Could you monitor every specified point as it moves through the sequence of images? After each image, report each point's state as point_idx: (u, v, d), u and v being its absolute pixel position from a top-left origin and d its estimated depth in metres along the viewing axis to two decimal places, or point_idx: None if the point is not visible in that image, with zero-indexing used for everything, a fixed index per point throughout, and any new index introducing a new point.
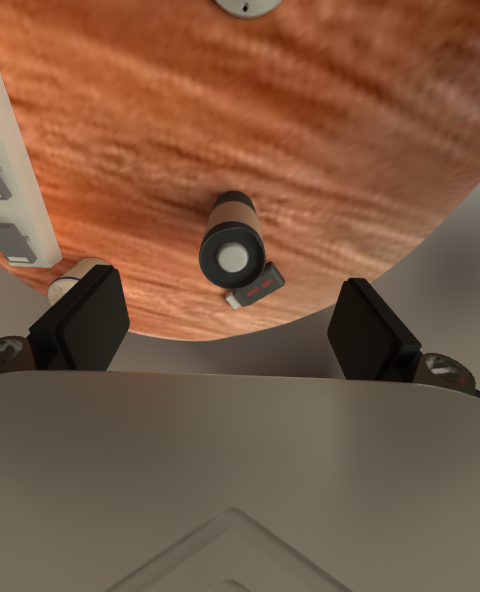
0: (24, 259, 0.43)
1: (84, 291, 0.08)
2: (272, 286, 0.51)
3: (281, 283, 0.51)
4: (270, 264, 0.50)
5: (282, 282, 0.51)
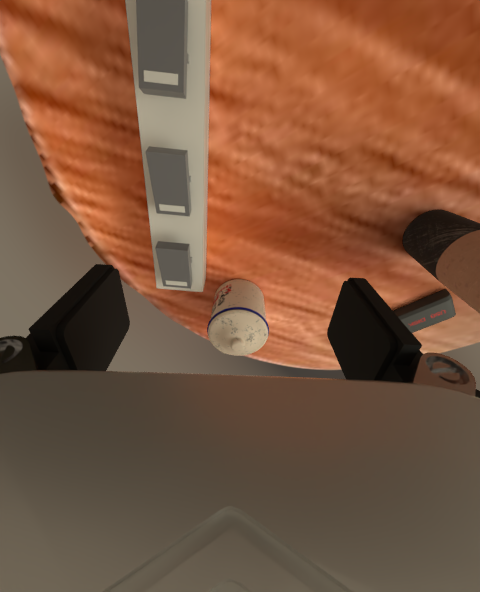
0: (184, 283, 0.36)
1: (84, 291, 0.08)
2: (442, 317, 0.44)
3: (453, 314, 0.44)
4: (446, 292, 0.42)
5: (454, 313, 0.44)
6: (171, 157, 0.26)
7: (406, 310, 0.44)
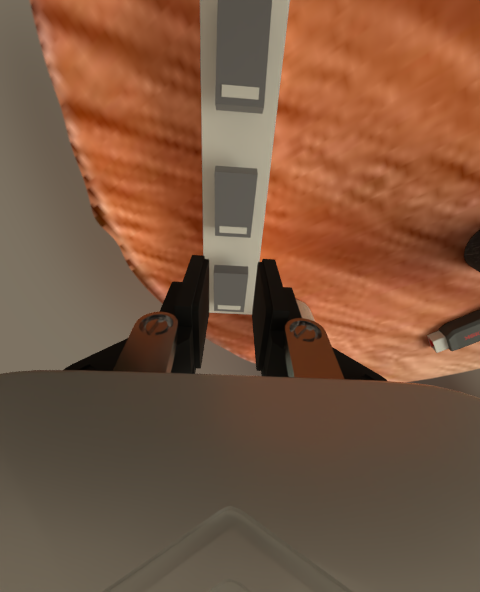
0: (237, 307, 0.34)
1: (197, 277, 0.09)
2: None
3: None
4: None
5: None
6: (241, 177, 0.24)
7: (462, 322, 0.42)
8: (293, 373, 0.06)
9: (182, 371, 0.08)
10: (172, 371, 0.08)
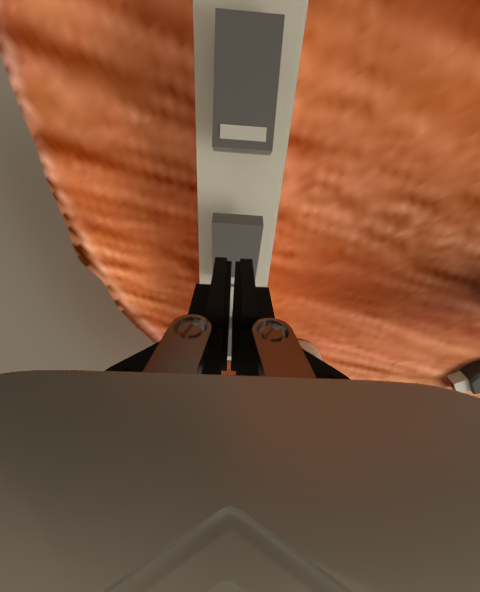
0: None
1: (224, 279, 0.09)
2: None
3: None
4: None
5: None
6: (244, 228, 0.20)
7: None
8: None
9: (213, 374, 0.08)
10: None
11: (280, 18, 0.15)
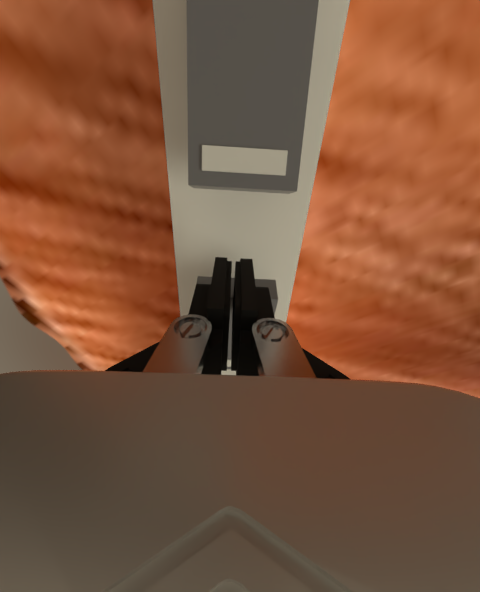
0: None
1: (224, 279, 0.09)
2: None
3: None
4: None
5: None
6: None
7: None
8: None
9: (213, 374, 0.08)
10: None
11: None
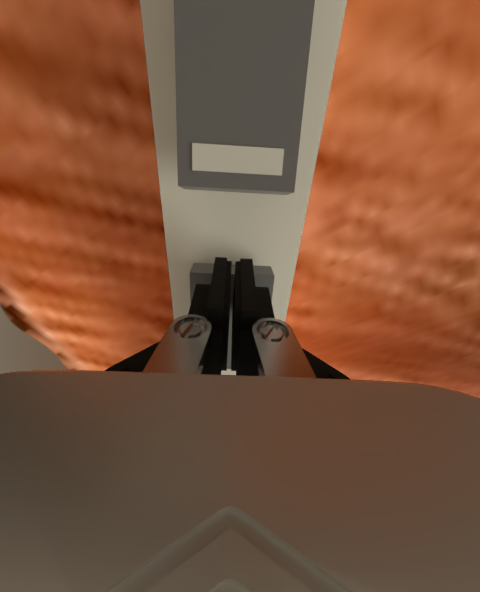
0: None
1: (224, 279, 0.09)
2: None
3: None
4: None
5: None
6: None
7: None
8: None
9: (213, 373, 0.08)
10: None
11: None
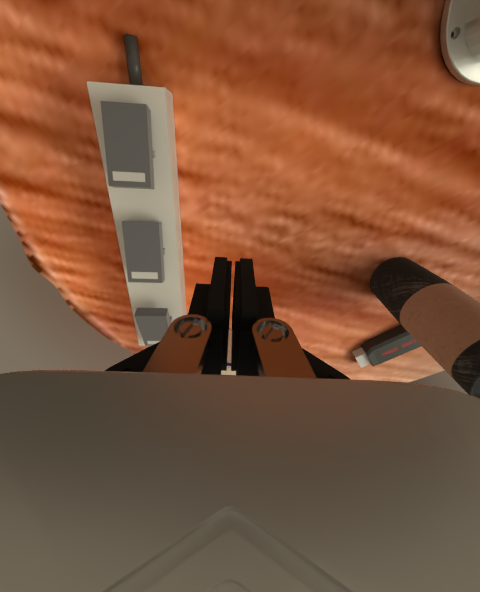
0: None
1: (224, 279, 0.09)
2: (412, 346, 0.46)
3: None
4: None
5: None
6: (145, 225, 0.28)
7: (379, 340, 0.46)
8: None
9: (213, 374, 0.08)
10: None
11: (143, 106, 0.23)
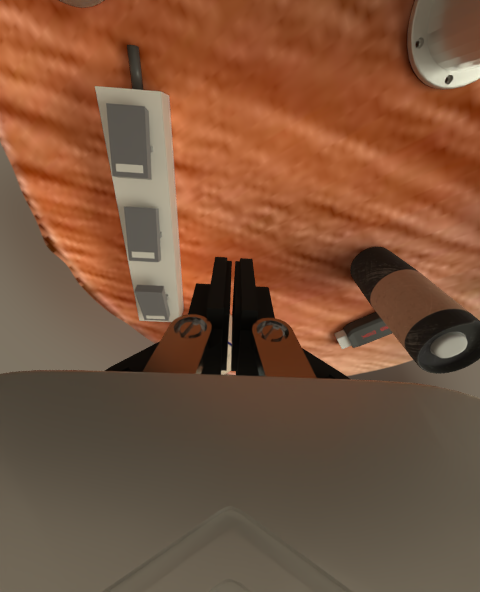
0: (162, 317, 0.42)
1: (224, 279, 0.09)
2: (390, 330, 0.49)
3: None
4: None
5: None
6: (144, 210, 0.33)
7: (359, 323, 0.49)
8: None
9: (213, 374, 0.08)
10: None
11: (142, 108, 0.27)
